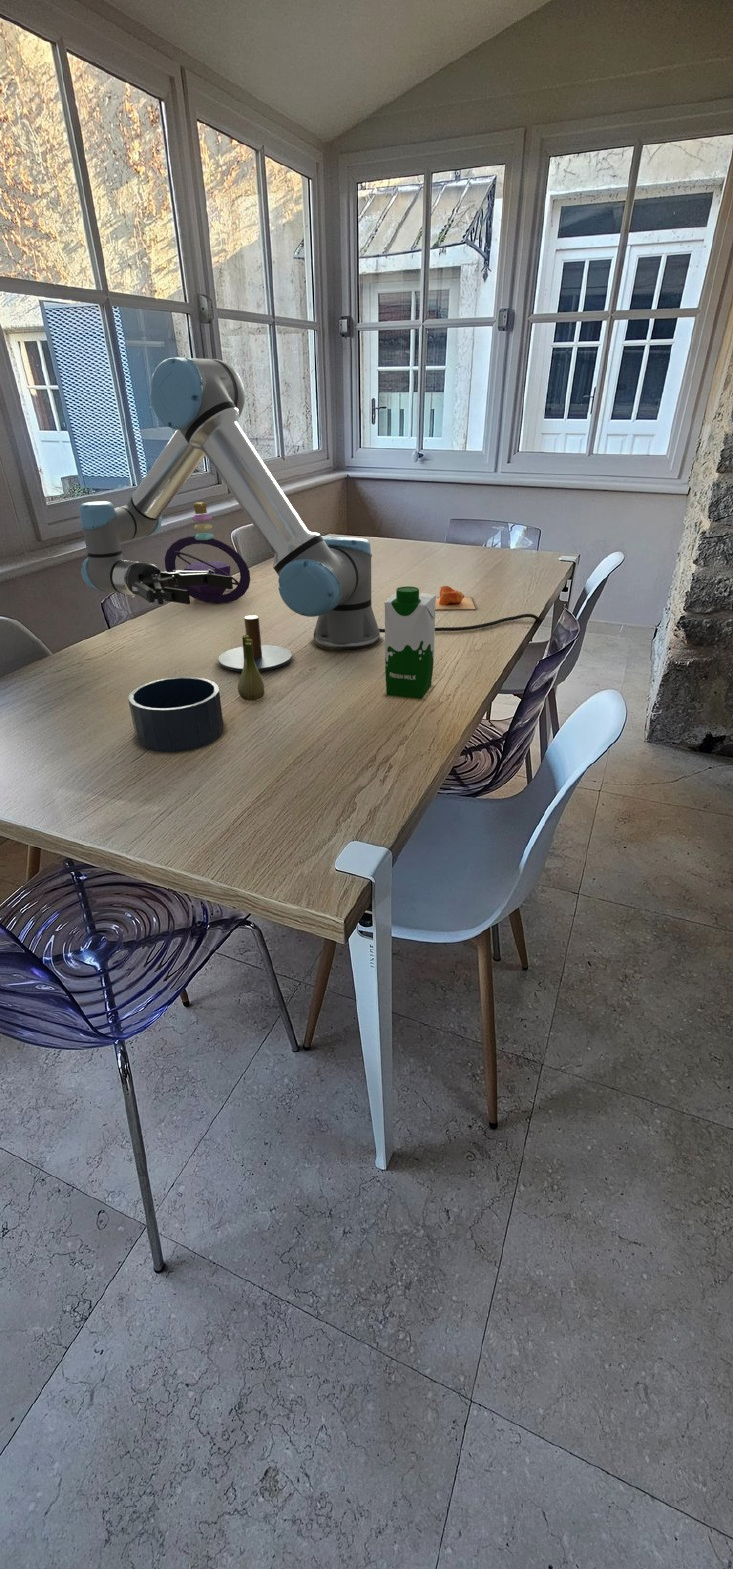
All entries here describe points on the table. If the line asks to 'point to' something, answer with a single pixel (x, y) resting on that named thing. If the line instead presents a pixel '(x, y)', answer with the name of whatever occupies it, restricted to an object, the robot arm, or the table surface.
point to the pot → (176, 714)
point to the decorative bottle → (208, 563)
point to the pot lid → (255, 651)
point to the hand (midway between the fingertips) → (210, 590)
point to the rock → (452, 600)
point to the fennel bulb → (250, 674)
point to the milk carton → (409, 642)
